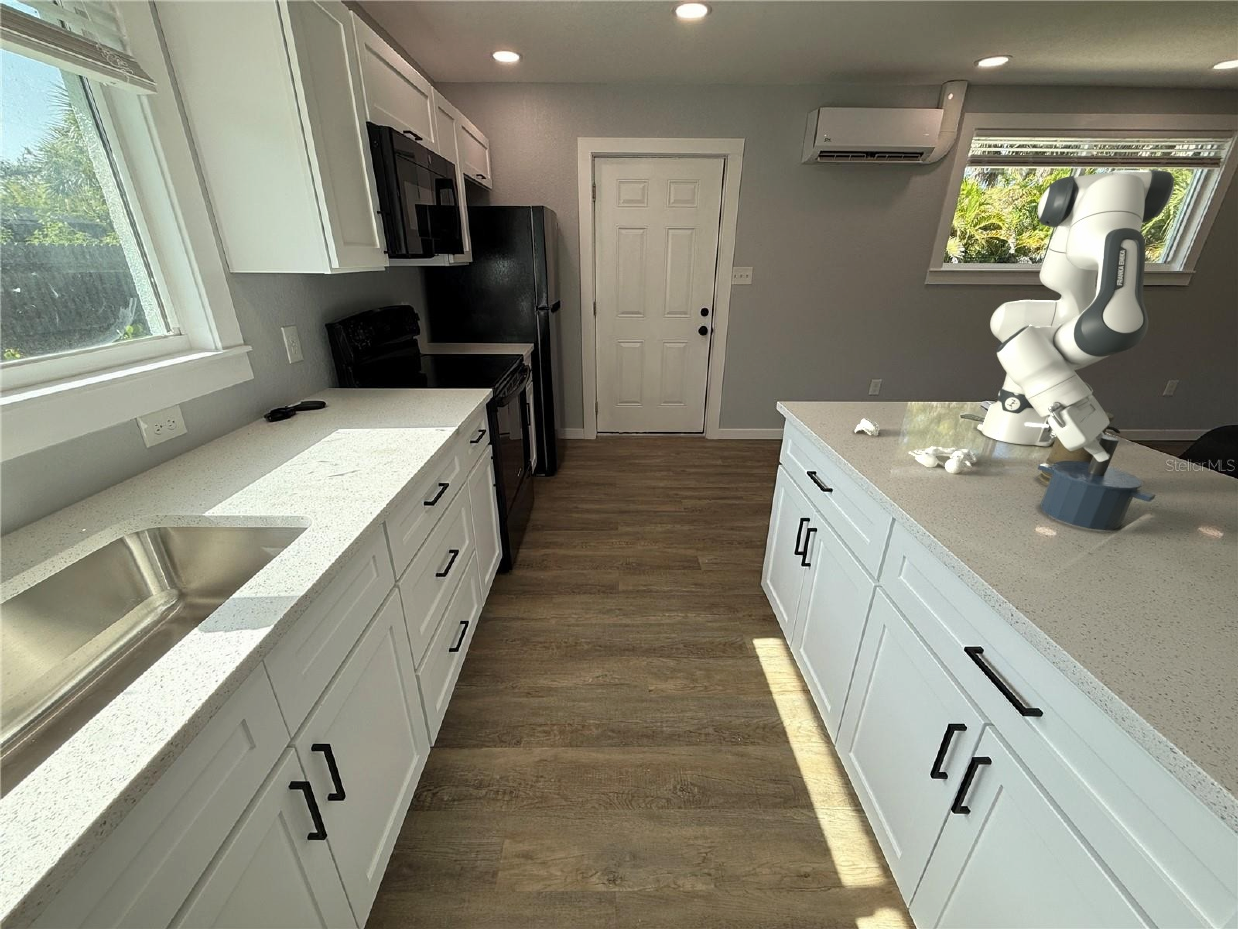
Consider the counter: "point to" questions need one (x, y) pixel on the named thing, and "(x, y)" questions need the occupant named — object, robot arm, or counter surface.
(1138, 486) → the lid
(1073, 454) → the container
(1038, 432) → the robot arm
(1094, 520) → the pot
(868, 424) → the white arched lump
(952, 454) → the tangled rod sculpture
